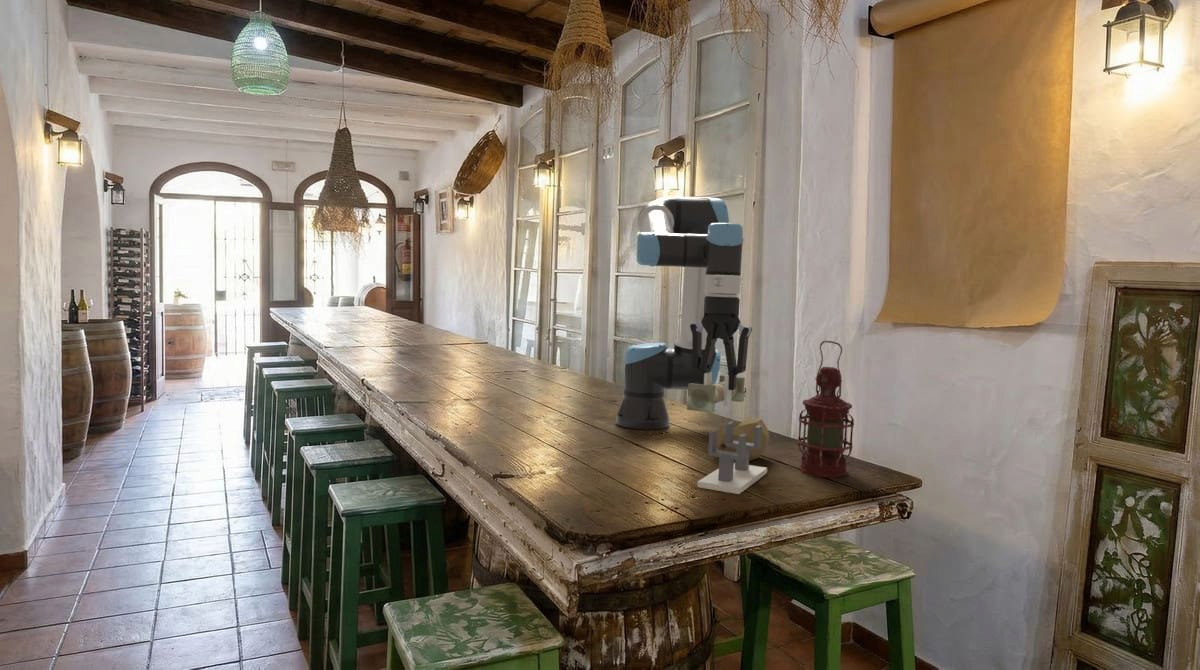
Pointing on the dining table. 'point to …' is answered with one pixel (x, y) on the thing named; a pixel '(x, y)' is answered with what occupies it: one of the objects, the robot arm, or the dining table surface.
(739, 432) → the low-poly potato
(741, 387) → the column
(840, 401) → the lantern
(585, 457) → the dining table surface
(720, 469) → the bracket
